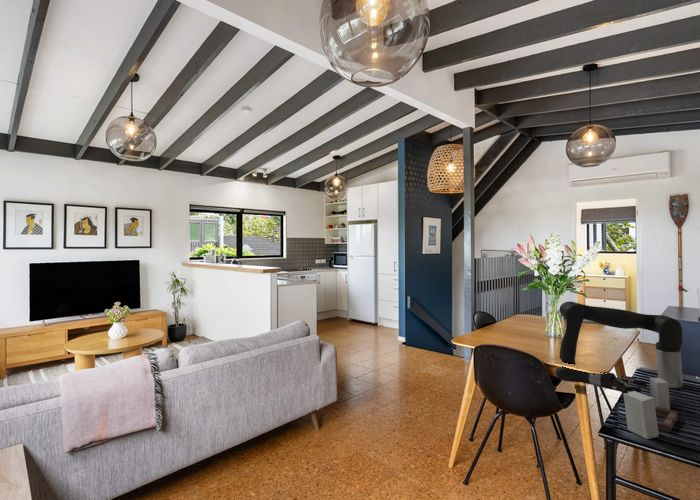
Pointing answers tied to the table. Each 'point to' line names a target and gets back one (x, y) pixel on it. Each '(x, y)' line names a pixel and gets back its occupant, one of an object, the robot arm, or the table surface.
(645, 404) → the skincare box
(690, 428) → the table surface
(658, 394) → the skincare box
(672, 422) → the walnut collar
